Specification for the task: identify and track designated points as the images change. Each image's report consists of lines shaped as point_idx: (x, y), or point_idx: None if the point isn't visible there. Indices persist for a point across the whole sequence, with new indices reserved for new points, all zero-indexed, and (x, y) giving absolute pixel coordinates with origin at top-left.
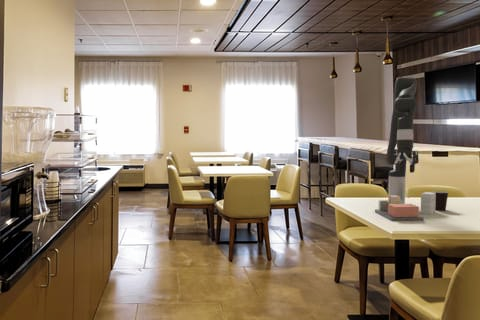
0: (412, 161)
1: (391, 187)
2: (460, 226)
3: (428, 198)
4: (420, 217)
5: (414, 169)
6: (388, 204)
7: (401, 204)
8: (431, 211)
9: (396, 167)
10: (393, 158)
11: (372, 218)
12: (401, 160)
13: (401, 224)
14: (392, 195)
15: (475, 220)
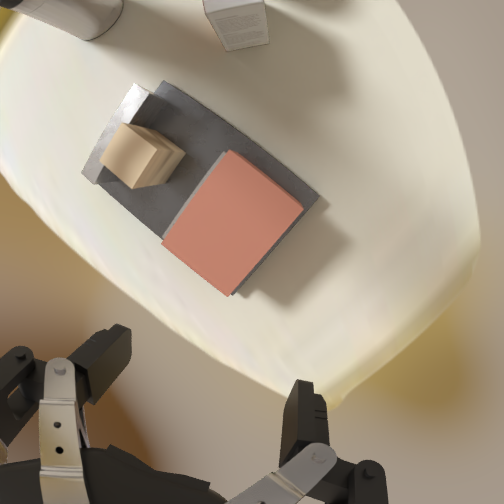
0: (292, 481)
1: (46, 18)
2: (444, 209)
3: (250, 15)
4: (310, 206)
5: (325, 411)
6: (166, 247)
7: (208, 208)
8: (268, 37)
9: (106, 382)
10: (22, 422)
11: (168, 296)
12: (77, 410)
13: (291, 319)
14: (110, 142)
15: (434, 68)
